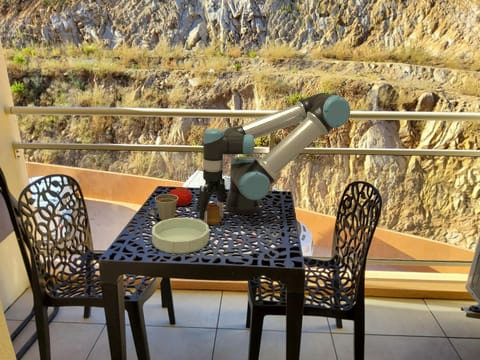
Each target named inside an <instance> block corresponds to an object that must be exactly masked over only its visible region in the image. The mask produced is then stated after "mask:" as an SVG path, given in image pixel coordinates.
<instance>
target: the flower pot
mask: <svg viewBox="0 0 480 360" xmlns="http://www.w3.org/2000/svg"><path fill="white" fill-rule="evenodd" d="M177 200H178V196H176V195H172V194H169V193H165V194H164V193H163V194H159V195H157V196H155V197H154V201H155V204H156V205H157V211H158V217H159V219H160V221H163V220H167V219H171V218H176V209H177V205H176V203H177Z"/></svg>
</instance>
